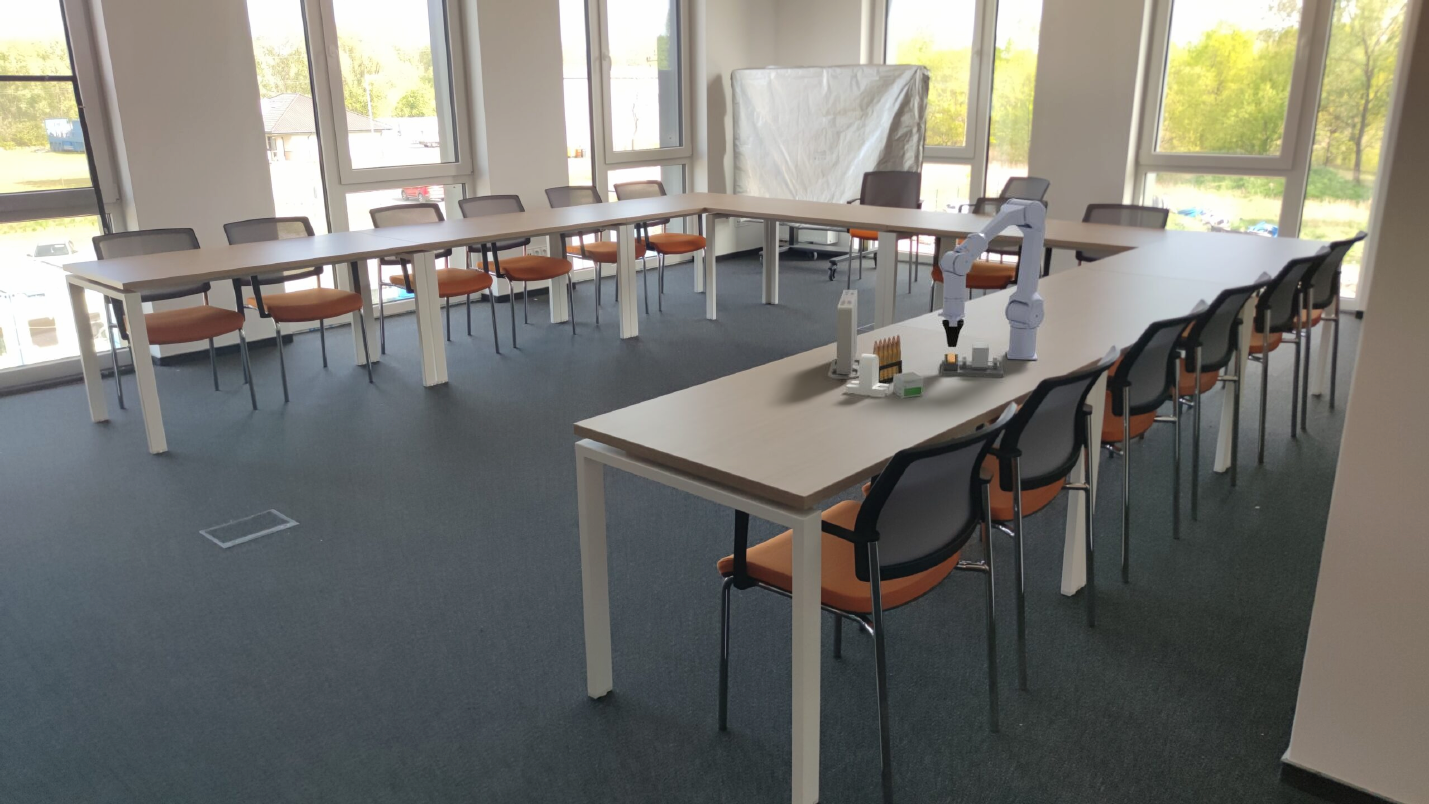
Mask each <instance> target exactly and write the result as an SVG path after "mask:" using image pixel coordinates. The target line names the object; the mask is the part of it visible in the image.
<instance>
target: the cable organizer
mask: <svg viewBox="0 0 1429 804" xmlns="http://www.w3.org/2000/svg"><path fill="white" fill-rule="evenodd" d="M859 359H860V362H858V363H859V364H858V365H859V378H858V380H851V381H850V384H847V385H846V392H847V393H846V394H850V393H855V394H854V395H859V394H860V396H861V395H862V396H867V395H870V397H876V396H877V397H878V398H884V397H885V396H886V394H889V393H890V384H889V383H886V384H883V383H879V358H878V355H873V353H872V354H870V353H862V354H861V356H860V358H859ZM877 397H876V398H877Z"/></svg>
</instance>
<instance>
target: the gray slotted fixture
mask: <svg viewBox="0 0 1429 804" xmlns="http://www.w3.org/2000/svg"><path fill="white" fill-rule="evenodd" d="M954 354H955V362H956V363H946V361H947V356H948V353H944V359H943V360H944V371H958V360H959V354H957V353H954ZM961 360H962V361H961V362H960V368H962V369H966V368H972V360H968V359H967V356H962V359H961ZM992 361H993V362H988V369H993V370H997V369H999V362H1000V361H998V357H992Z"/></svg>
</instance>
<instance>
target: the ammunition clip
mask: <svg viewBox="0 0 1429 804" xmlns="http://www.w3.org/2000/svg"><path fill="white" fill-rule="evenodd" d="M872 349H873V352H872V354H873V355H878V358H879V383H883V384H885V383H886V384H889V383H892V382H893V378H894V374H901V373H903V360H902V348H901V336H900V335H899V334H897V335H896V336H895V335H893V336H892V338H891V337H890V336H888V339H887V338H885V337H884V339H883V341H882V339H879V341H877V340H875V341H874V344H873V348H872ZM888 382H889V383H888Z"/></svg>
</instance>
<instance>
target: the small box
mask: <svg viewBox="0 0 1429 804" xmlns="http://www.w3.org/2000/svg"><path fill="white" fill-rule="evenodd" d="M892 382H893V383H892V384H893V385H892V388H893V390H892V392H893V393H894V394H896V395H898V397H900V398H902V399H903V398H911V397H912V398H913V397H921V396H923V391H924V390H923V389H924V387H923V385H924V377H922V376H921V375H920V374H917V373H916V372H914V371H911V372H902V373H901V374H894V378H893V381H892Z"/></svg>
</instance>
